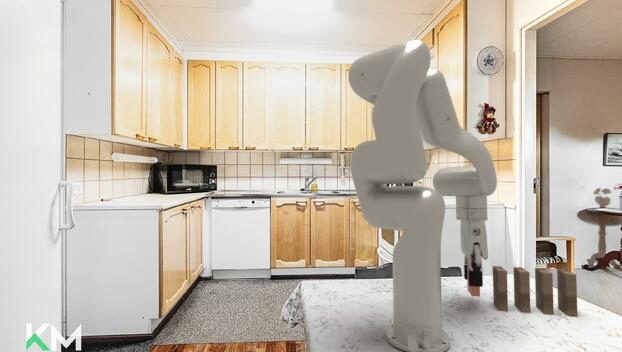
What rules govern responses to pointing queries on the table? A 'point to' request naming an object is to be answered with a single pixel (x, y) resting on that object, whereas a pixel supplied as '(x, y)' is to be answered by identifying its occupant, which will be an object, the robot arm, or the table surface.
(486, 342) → the table surface
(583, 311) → the table surface
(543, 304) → the tile
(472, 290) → the red tile
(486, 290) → the table surface
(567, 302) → the tile
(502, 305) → the tile
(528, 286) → the tile
